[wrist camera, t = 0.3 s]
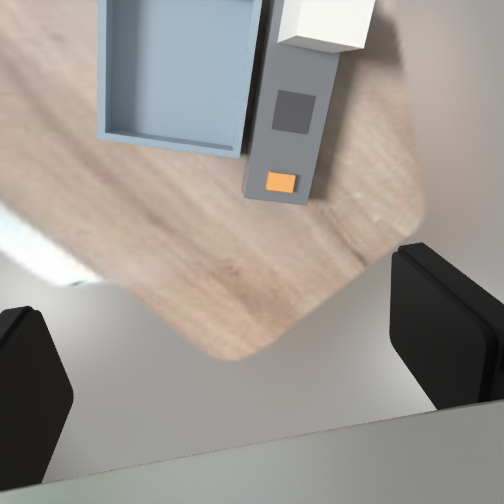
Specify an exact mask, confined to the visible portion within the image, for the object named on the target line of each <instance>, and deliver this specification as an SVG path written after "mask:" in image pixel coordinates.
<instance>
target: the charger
mask: <svg viewBox="0 0 504 504" xmlns="http://www.w3.org/2000/svg"><path fill="white" fill-rule="evenodd" d="M374 3H375V0H284V6H283V12H282V18H281V24H280V30H279V36H278V43H281V44H287V45H292V46H297V47H302V48H308V49H313V50H318V51H323V52H328V53H337V52H344V51H350V50H357V49H364V45H365V41H366V37H367V32H368V28H369V24H370V20H371V16H372V12H373V7H374Z"/></svg>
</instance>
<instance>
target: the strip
mask: <svg viewBox="0 0 504 504" xmlns="http://www.w3.org/2000/svg"><path fill="white" fill-rule="evenodd" d="M283 6H284V0H270V5H269V11H268V18H267V25H266V31H265V38H264V45H263V51H262V58H261V64H260V71H259V78H258V84H257V91H256V98H255V104H254V111H253V117H252V124H251V131H250V137H249V144H248V151H247V157H246V164H245V170H244V177H243V184H242V192H243V195H244V198H248V199H256V200H265V201H273V202H281V203H289V204H298V205H306V206H307V202H308V198H309V193H310V189H311V184H312V180H313V175H314V171H315V166H316V162H317V157H318V153H319V148H320V144H321V139H322V135H323V130H324V125H325V121H326V116H327V112H328V107H329V103H330V98H331V94H332V89H333V85H334V80H335V76H336V71H337V67H338V62H339V58H340V53H341V52H337V53H328V52H323V51H318V50H313V49H308V48H302V47H297V46H292V45H287V44H281V43H278V36H279V30H280V24H281V18H282V12H283Z"/></svg>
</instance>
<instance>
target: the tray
mask: <svg viewBox="0 0 504 504" xmlns="http://www.w3.org/2000/svg"><path fill="white" fill-rule="evenodd" d="M261 5H262V0H98V125H97V139H100V140H108V141H115V142H122V143H129V144H136V145H144V146H151V147H158V148H165V149H173V150H180V151H187V152H194V153H202V154H209V155H216V156H223V157H230V158H238V159H239V158H240V151H241V144H242V137H243V130H244V123H245V116H246V109H247V102H248V95H249V88H250V81H251V74H252V67H253V60H254V54H255V47H256V40H257V33H258V26H259V19H260V12H261Z"/></svg>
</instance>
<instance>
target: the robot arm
mask: <svg viewBox="0 0 504 504" xmlns="http://www.w3.org/2000/svg"><path fill="white" fill-rule="evenodd" d="M390 300H391V301H390V330H389V331H390V332H389V333H390V340H391V343H392V345H393V347H394V349H395V350H396V352H397V353H398V355H399V356H400V357H401V359H402V360H403V362H404V363H405V365H406V366H407V367H408V369H409V370H410V372H411V373H412V375H413V376H414V377H415V379H416V380H417V382H418V383H419V385H420V386H421V387H422V389H423V390H424V392H425V393H426V395H427V396H428V397H429V399H430V400H431V402H432V403H433V404H434V406H435V407H436V409H437V410H435V411H430V412H425V413H419V414H413V415H408V416H402V417H396V418H392V419H385V420H380V421H375V422H369V423H363V424H358V425H352V426H346V427H341V428H335V429H330V430H324V431H319V432H313V433H307V434H302V435H296V436H291V437H286V438H280V439H275V440H270V441H264V442H258V443H253V444H248V445H242V446H237V447H232V448H226V449H221V450H215V451H210V452H205V453H199V454H194V455H189V456H184V457H178V458H173V459H167V460H162V461H156V462H151V463H146V464H141V465H135V466H130V467H125V468H119V469H114V470H109V471H104V472H99V473H94V474H88V475H83V476H77V477H72V478H67V479H62V480H56V481H52V482H46V483H42V480H43V478H44V475H45V472H46V470H47V467H48V465H49V462H50V460H51V457H52V455H53V452H54V449H55V447H56V444H57V442H58V439H59V437H60V434H61V432H62V429H63V427H64V424H65V421H66V419H67V416H68V414H69V411H70V409H71V406H72V403H73V398H74V397H73V389H72V386H71V384H70V381H69V379H68V377H67V374H66V372H65V369H64V367H63V364H62V362H61V359H60V357H59V355H58V352H57V350H56V348H55V345H54V342H53V340H52V338H51V335H50V333H49V330H48V328H47V325H46V323H45V321H44V318H43V316H42V314H41V312H40V311H38V310H34V309H33V308H32V307H30V306H25V307H18V308H12V309H6V310H4V311H2V312H1V314H0V504H504V304H503V303H501V302H500V301H499V300H497V299H496V298H495V297H493V296H492V295H491V294H489V293H488V292H487V291H486V290H484V289H483V288H482V287H480V286H479V285H478V284H476V283H475V282H474V281H472V280H471V279H470V278H469V277H467V276H466V275H464V274H463V273H462V272H461V271H459V270H458V269H457V268H455V267H454V266H453V265H452V264H450V263H449V262H448V261H446V260H445V259H444V258H442V257H441V256H440V255H438V254H437V253H436V252H435V251H433V250H432V249H431V248H429V247H428V246H427V245H425V244H424V243H422V242H421V243H415V244H409V245H403V246H400V247H399V248H398V251H397V252H394V253H393V255H392V268H391V298H390Z"/></svg>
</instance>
